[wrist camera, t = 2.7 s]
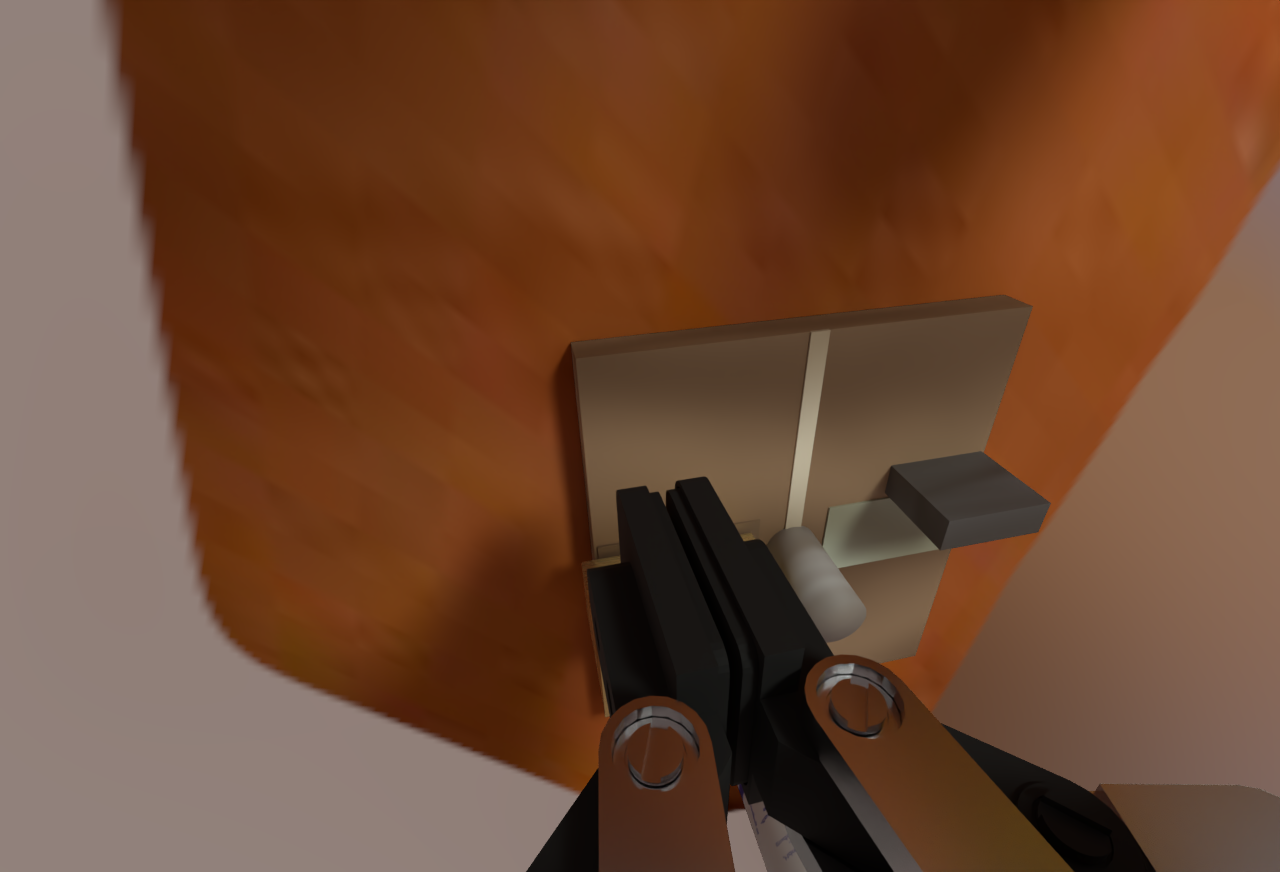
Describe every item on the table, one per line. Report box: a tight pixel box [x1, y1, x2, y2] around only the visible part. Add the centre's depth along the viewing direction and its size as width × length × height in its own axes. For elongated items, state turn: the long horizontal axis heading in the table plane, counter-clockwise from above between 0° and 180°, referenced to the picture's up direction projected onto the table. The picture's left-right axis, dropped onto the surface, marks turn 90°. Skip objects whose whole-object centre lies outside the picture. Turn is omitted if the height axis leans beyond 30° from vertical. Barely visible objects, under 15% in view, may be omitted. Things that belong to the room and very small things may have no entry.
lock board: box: [571, 295, 1051, 663], centre depth 17 cm, size 14×12×4 cm
